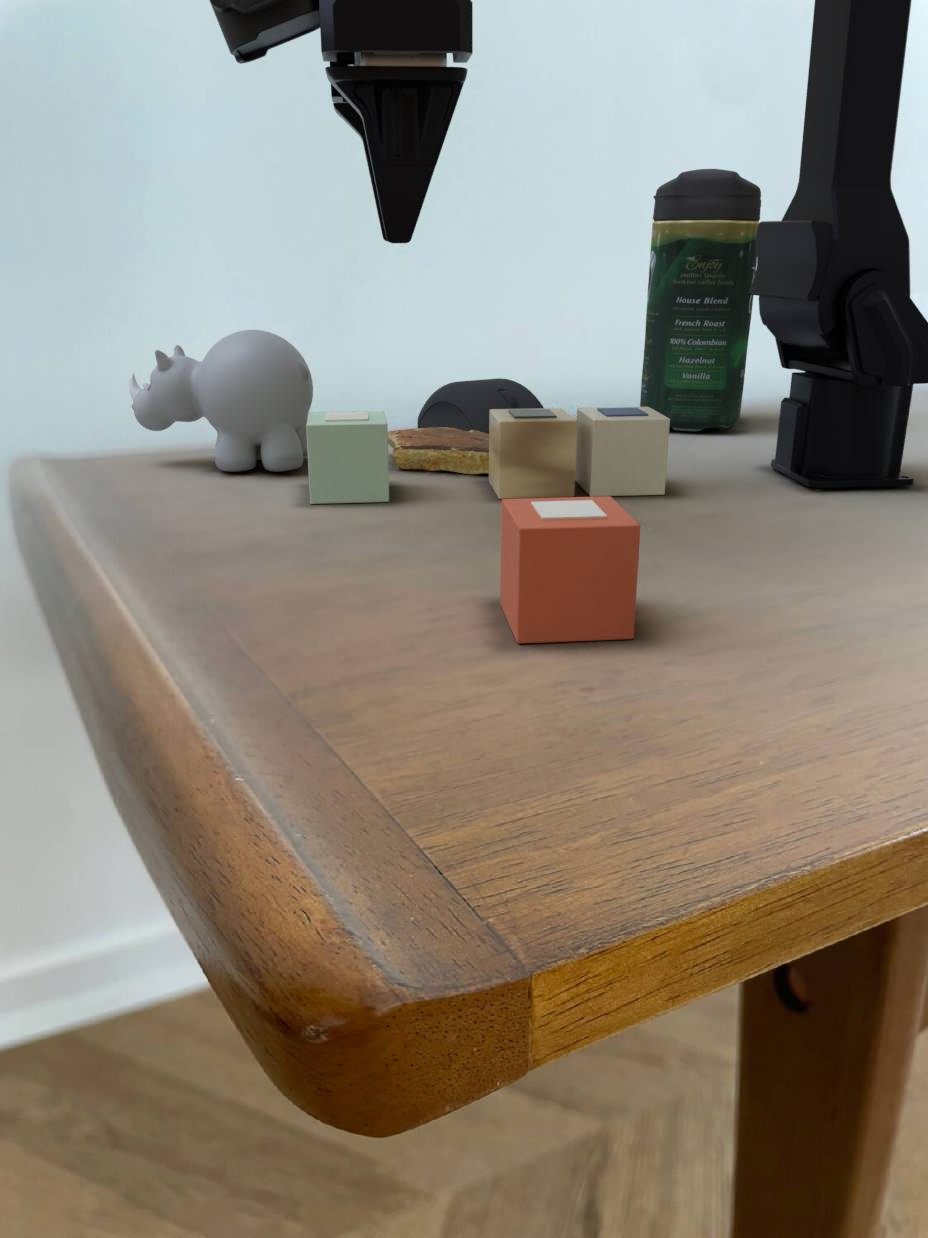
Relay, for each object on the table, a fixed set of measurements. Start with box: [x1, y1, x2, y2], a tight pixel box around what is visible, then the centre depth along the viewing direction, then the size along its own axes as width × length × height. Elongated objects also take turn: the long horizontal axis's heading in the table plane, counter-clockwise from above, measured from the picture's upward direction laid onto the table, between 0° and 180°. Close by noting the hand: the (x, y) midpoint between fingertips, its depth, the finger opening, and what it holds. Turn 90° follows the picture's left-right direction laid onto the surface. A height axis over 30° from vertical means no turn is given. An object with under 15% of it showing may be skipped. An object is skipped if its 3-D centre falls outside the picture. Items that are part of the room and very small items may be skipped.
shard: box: [388, 427, 489, 475], centre depth 66 cm, size 11×8×2 cm
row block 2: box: [488, 407, 577, 500], centre depth 60 cm, size 4×4×4 cm
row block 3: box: [575, 406, 671, 497], centre depth 61 cm, size 4×4×4 cm
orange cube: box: [499, 496, 642, 644], centre depth 40 cm, size 4×4×4 cm
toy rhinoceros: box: [128, 329, 314, 473], centre depth 66 cm, size 7×12×8 cm, turn 82°
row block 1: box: [306, 410, 390, 505], centre depth 59 cm, size 4×4×4 cm
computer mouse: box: [417, 378, 545, 434], centre depth 77 cm, size 6×11×4 cm, turn 30°
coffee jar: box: [639, 168, 762, 432], centre depth 79 cm, size 10×8×19 cm
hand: (395, 241), depth 53 cm, fingers open, 9 cm apart
